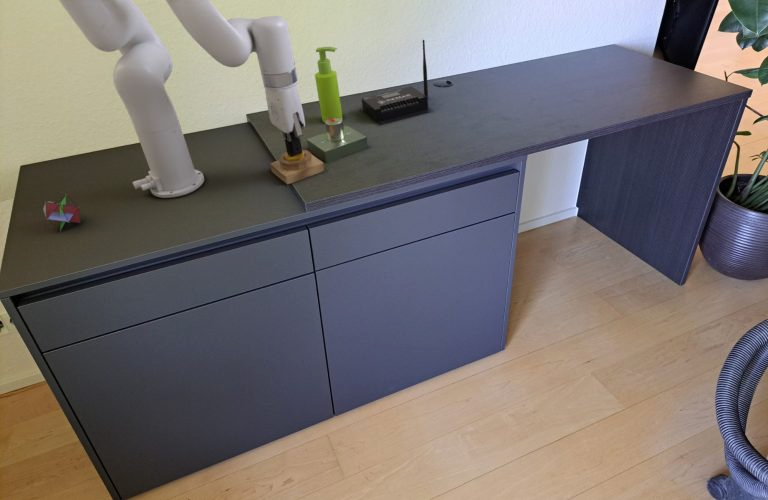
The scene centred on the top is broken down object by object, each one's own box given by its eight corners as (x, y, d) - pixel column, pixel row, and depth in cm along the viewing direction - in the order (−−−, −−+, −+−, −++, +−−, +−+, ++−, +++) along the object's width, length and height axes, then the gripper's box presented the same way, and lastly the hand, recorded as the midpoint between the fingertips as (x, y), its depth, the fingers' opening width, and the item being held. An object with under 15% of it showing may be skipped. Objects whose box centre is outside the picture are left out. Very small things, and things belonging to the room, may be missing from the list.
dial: (347, 137, 141) (345, 119, 138) (332, 143, 139) (329, 125, 136) (339, 132, 144) (337, 114, 141) (324, 137, 142) (321, 119, 139)
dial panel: (326, 162, 137) (324, 151, 135) (308, 149, 144) (306, 138, 142) (367, 147, 142) (366, 136, 140) (348, 135, 149) (346, 124, 147)
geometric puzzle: (93, 205, 125) (59, 183, 121) (85, 220, 120) (49, 198, 116) (75, 225, 127) (41, 204, 123) (66, 241, 122) (30, 220, 118)
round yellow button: (291, 167, 131) (290, 160, 130) (283, 160, 134) (281, 154, 133) (308, 160, 132) (307, 154, 131) (300, 154, 136) (298, 148, 135)
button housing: (287, 184, 130) (283, 169, 127) (271, 171, 136) (268, 156, 134) (324, 170, 134) (322, 155, 131) (307, 158, 140) (305, 143, 138)
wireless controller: (379, 125, 153) (373, 62, 143) (360, 109, 164) (353, 50, 154) (443, 108, 158) (441, 47, 149) (421, 94, 169) (418, 36, 159)
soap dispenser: (343, 123, 156) (332, 50, 145) (319, 123, 158) (307, 51, 146) (348, 114, 161) (338, 44, 149) (325, 115, 162) (314, 45, 151)
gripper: (250, 74, 125) (268, 149, 136) (278, 90, 115) (294, 170, 125) (281, 66, 128) (295, 139, 139) (310, 81, 118) (323, 159, 128)
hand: (295, 153), depth 132 cm, fingers closed
